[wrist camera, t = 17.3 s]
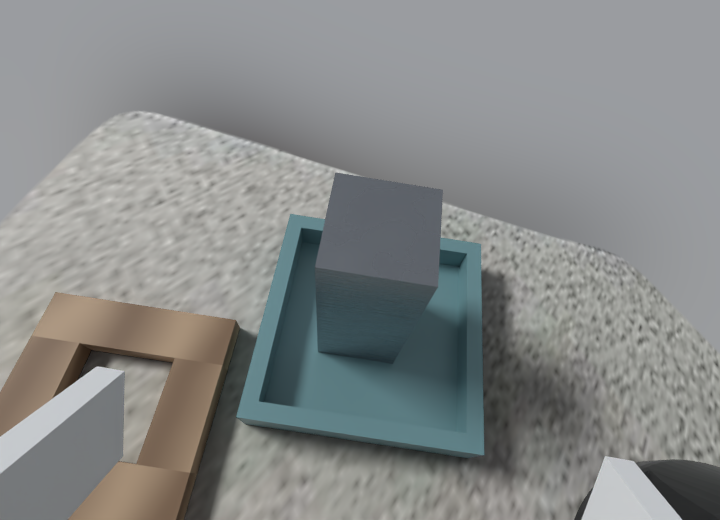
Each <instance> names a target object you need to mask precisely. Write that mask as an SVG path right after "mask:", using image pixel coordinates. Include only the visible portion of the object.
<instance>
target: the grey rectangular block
mask: <svg viewBox="0 0 720 520" xmlns="http://www.w3.org/2000/svg"><path fill="white" fill-rule="evenodd" d="M442 194H443V190H440V189H434V188H428V187H421V186H415V185H409V184H403V183H396V182H391V181H384V180H378V179H372V178H366V177H360V176H353V175H347V174H341V173H335V177H334V182H333V186H332V191H331V195H330V200H329V205H328V209H327V214H326V218H325V223H324V227H323V232H322V237H321V241H320V246H319V250H318V255H317V259H316V264H315V288H316V316H317V344H318V352H321V353H327V354H333V355H340V356H346V357H352V358H358V359H365V360H371V361H377V362H383V363H390V364H393V363H394V361H395V359H396V357H397V356H398V354H399V352H400V351H401V349H402V347H403V346H404V344H405V342H406V341H407V339H408V337H409V335H410V334H411V332H412V330H413V329H414V327H415V325H416V324H417V322H418V320H419V319H420V317H421V315H422V313H423V312H424V310H425V308H426V307H427V305H428V303H429V302H430V300H431V298H432V297H433V295H434V293H435V291H436V290H437V288H438V280H439V258H440V237H441V215H442Z"/></svg>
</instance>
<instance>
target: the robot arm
mask: <svg viewBox="0 0 720 520" xmlns="http://www.w3.org/2000/svg"><path fill="white" fill-rule="evenodd" d="M124 375H125V371H121V370H115V369H110V368H104V367H98V366H97V367H95V368H94V369H92V370H91V371H90V372H88V373H87V374H86V375H84V376H83V377H81V378H80V379H79V380H77V381H76V382H75V383H73V384H72V385H71V386H69V387H68V388H66V389H65V390H64V391H62V392H61V393H60V394H58V395H57V396H55V397H54V398H53V399H51V400H50V401H49V402H47V403H46V404H44V405H43V406H42V407H40V408H39V409H38V410H36V411H35V412H33V413H32V414H31V415H29V416H28V417H27V418H25V419H24V420H23V421H21V422H20V423H18V424H17V425H16V426H14V427H13V428H12V429H10V430H9V431H7V432H6V433H5V434H3V435H2V436H1V437H0V520H68V519H69V517H70V516H71V515H72V514H73V513H74V512H75V511H76V509H77V508H78V507H79V506H80V505H81V504H82V502H83V501H84V500H85V499H86V498H87V497H88V496H89V494H90V493H91V492H92V491H93V490H94V489H95V488H96V486H97V485H98V484H99V483H100V482H101V481H102V480H103V478H104V477H105V476H106V475H107V474H108V473H109V471H110V470H111V469H112V468H113V467H114V466H115V465H116V463H117V462H118V461H119V460H120V459H121V458H122V457H123V428H124ZM575 520H720V467H717V466H713V465H710V464H706V463H701V462H695V461H688V460H658V461H643V462H637V463H635V462H634V461H630V460H624V459H618V458H613V457H607V456H605V458H604V461H603V464H602V466H601V469H600V472H599V474H598V477H597V479H596V482H595V485H594V487H593V488H592V489H591V491H590V492H589V493H588V495H587V496H586V498H585V499H584V501H583V502H582V504H581V506H580V508H579V510H578V512H577V514H576V517H575Z"/></svg>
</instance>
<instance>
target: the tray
mask: <svg viewBox="0 0 720 520" xmlns="http://www.w3.org/2000/svg"><path fill="white" fill-rule="evenodd" d="M324 223H325V219H319V218H313V217H306V216H300V215H294V214H290V218H289V221H288V225H287V229H286V233H285V236H284V240H283V244H282V247H281V251H280V255H279V259H278V262H277V266H276V270H275V274H274V277H273V281H272V285H271V289H270V292H269V296H268V300H267V304H266V307H265V311H264V315H263V319H262V322H261V326H260V330H259V333H258V337H257V341H256V345H255V348H254V352H253V356H252V360H251V363H250V367H249V371H248V375H247V378H246V382H245V386H244V390H243V393H242V397H241V401H240V405H239V408H238V412H237V416H236V417H237V418H238V419H239V420H240V421H242V422H243V423H244V424H248V425H255V426H261V427H268V428H274V429H281V430H287V431H294V432H300V433H307V434H313V435H320V436H326V437H333V438H339V439H346V440H352V441H359V442H365V443H372V444H378V445H385V446H391V447H398V448H404V449H411V450H417V451H424V452H430V453H437V454H443V455H450V456H456V457H463V458H471V457H477V456H483V455H484V409H483V348H482V287H481V244H478V243H472V242H465V241H459V240H453V239H446V238H440V258H439V280H438V288H437V290H436V291H435V293H434V295H433V297H432V298H431V300H430V302H429V303H428V305H427V307H426V308H425V310H424V312H423V313H422V315H421V317H420V319H419V320H418V322H417V324H416V325H415V327H414V329H413V330H412V332H411V334H410V335H409V337H408V339H407V341H406V342H405V344H404V346H403V347H402V349H401V351H400V352H399V354H398V356H397V357H396V359H395V361H394V363H393V364H390V363H383V362H377V361H371V360H365V359H358V358H352V357H346V356H340V355H333V354H327V353H321V352H318V344H317V316H316V288H315V264H316V259H317V255H318V250H319V246H320V241H321V237H322V232H323V227H324Z"/></svg>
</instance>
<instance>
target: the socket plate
mask: <svg viewBox="0 0 720 520" xmlns="http://www.w3.org/2000/svg"><path fill="white" fill-rule="evenodd" d="M239 329H240V327H239V325H238V323H237V321H236V320H231V319H225V318H218V317H212V316H206V315H199V314H193V313H186V312H180V311H173V310H167V309H161V308H154V307H148V306H141V305H135V304H128V303H122V302H115V301H109V300H103V299H96V298H90V297H83V296H77V295H70V294H64V293H58V292H55V294H54V296H53V298H52V300H51V301H50V303H49V305H48V307H47V309H46V310H45V312H44V314H43V316H42V318H41V319H40V321H39V323H38V325H37V327H36V329H35V330H34V332H33V334H32V336H31V338H30V339H29V341H28V343H27V345H26V347H25V348H24V350H23V352H22V354H21V356H20V357H19V359H18V361H17V363H16V365H15V366H14V368H13V370H12V372H11V374H10V375H9V377H8V379H7V381H6V383H5V385H4V386H3V388H2V390H1V392H0V437H1V436H2V435H3V434H5V433H6V432H7V431H9V430H10V429H12V428H13V427H14V426H16V425H17V424H18V423H20V422H21V421H23V420H24V419H25V418H27V417H28V416H29V415H31V414H32V413H33V412H35V411H36V410H38V409H39V408H40V407H42V406H43V405H44V404H46V403H47V402H49V401H50V400H51V399H53V398H54V397H55V396H57V395H58V394H60V393H61V392H62V391H64V390H65V389H66V388H68V387H69V386H71V385H72V384H73V383H75V382H76V381H77V380H78V377H79V375H80V373H81V371H82V369H83V367H84V365H85V362H86V360H87V358H88V356H89V354H90V352H91V350H95V351H101V352H108V353H114V354H121V355H127V356H134V357H140V358H147V359H153V360H160V361H166V362H173V364H172V367H171V370H170V372H169V375H168V378H167V381H166V383H165V386H164V389H163V392H162V395H161V397H160V400H159V403H158V406H157V408H156V411H155V414H154V417H153V419H152V422H151V425H150V428H149V430H148V433H147V436H146V439H145V441H144V444H143V447H142V450H141V452H140V455H139V458H138V461H137V464H133V463H127V462H120V461H118V462H117V463H116V465H115V466H114V467H113V468H112V469H111V470H110V471H109V473H108V474H107V475H106V476H105V477H104V478H103V480H102V481H101V482H100V483H99V484H98V485H97V486H96V488H95V489H94V490H93V491H92V492H91V493H90V494H89V496H88V497H87V498H86V499H85V500H84V501H83V502H82V504H81V505H80V506H79V507H78V508H77V509H76V511H75V512H74V513H73V514H72V515H71V516H70V517H69V519H68V520H184V517H185V514H186V510H187V507H188V504H189V500H190V497H191V493H192V490H193V486H194V483H195V480H196V476H197V473H198V469H199V466H200V463H201V459H202V456H203V452H204V449H205V446H206V442H207V439H208V435H209V432H210V428H211V425H212V422H213V418H214V415H215V411H216V408H217V405H218V401H219V398H220V394H221V391H222V387H223V384H224V381H225V377H226V374H227V370H228V367H229V364H230V360H231V357H232V353H233V350H234V347H235V343H236V340H237V336H238V333H239Z"/></svg>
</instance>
